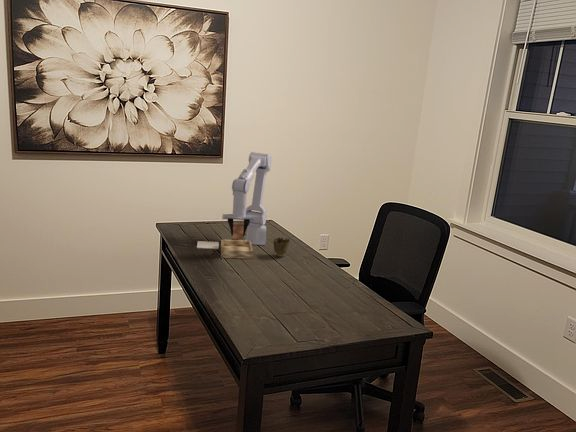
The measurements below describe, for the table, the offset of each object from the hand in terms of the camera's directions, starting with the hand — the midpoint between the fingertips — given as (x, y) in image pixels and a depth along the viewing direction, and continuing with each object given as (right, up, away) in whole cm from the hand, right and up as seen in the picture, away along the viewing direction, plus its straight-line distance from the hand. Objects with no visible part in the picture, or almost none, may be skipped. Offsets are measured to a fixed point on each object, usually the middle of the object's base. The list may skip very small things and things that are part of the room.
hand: (237, 235), depth 236 cm
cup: (+19, -10, +6) cm, 22 cm away
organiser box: (-1, -8, +6) cm, 10 cm away
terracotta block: (0, -1, 0) cm, 1 cm away
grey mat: (-15, -5, +12) cm, 20 cm away
